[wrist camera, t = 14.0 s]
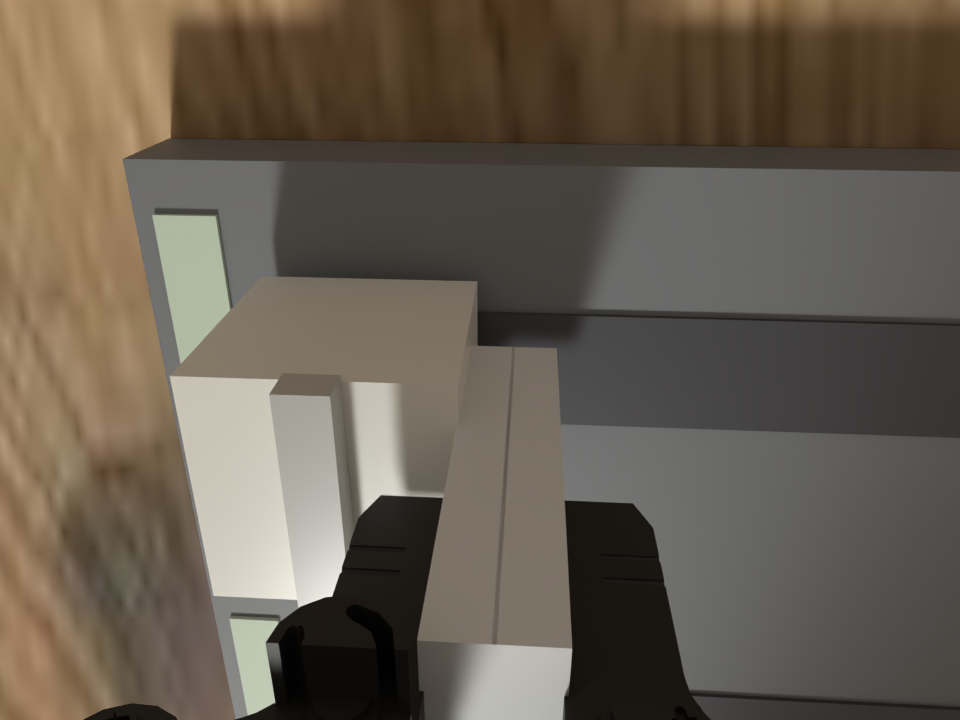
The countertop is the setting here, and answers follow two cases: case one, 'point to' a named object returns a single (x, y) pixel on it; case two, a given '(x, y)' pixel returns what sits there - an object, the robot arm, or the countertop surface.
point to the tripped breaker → (318, 420)
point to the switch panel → (657, 370)
